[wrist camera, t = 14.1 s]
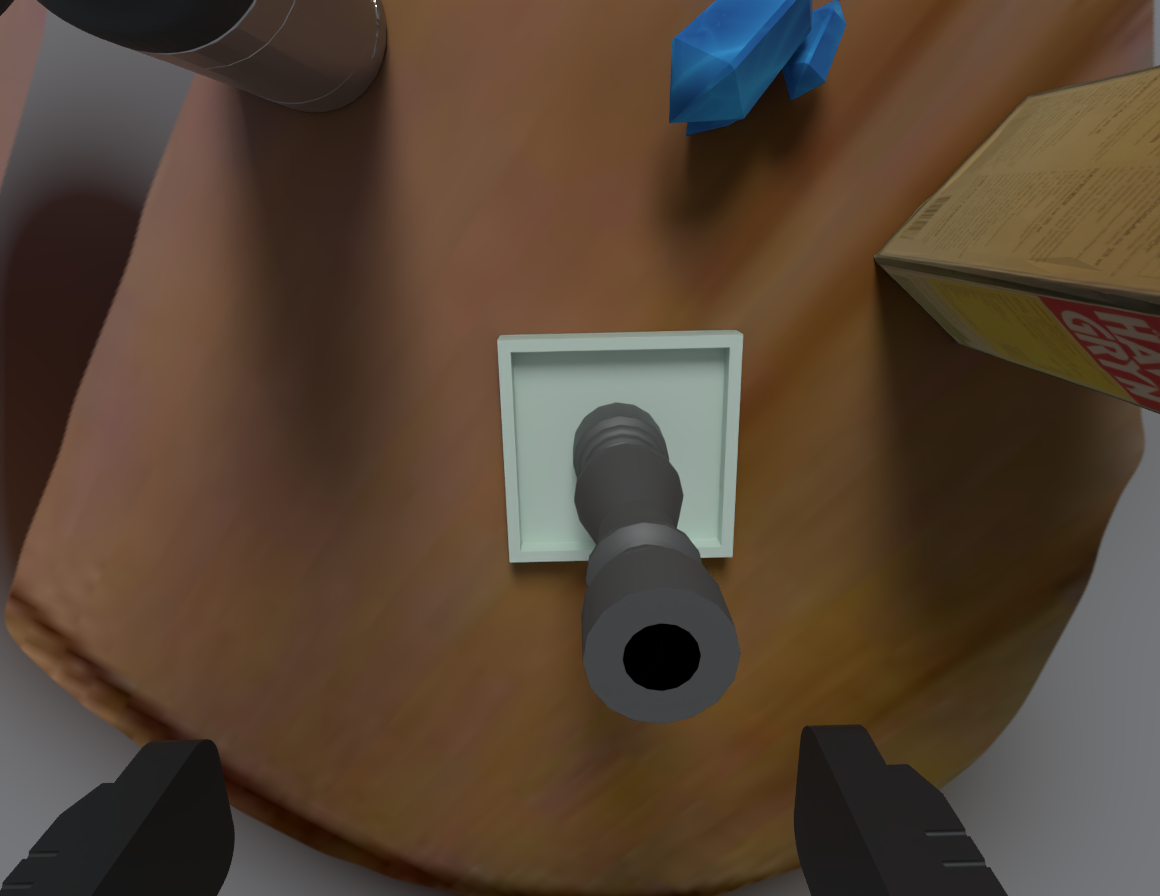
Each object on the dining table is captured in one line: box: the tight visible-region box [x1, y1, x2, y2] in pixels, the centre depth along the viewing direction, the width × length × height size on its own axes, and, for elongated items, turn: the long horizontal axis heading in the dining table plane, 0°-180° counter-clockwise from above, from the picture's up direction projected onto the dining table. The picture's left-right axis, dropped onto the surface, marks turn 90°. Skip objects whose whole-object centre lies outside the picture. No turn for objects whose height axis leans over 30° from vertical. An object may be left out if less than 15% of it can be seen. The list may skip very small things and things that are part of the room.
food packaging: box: [874, 65, 1160, 414], centre depth 35 cm, size 13×9×25 cm
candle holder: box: [573, 402, 741, 724], centre depth 38 cm, size 6×6×25 cm
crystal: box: [669, 0, 846, 136], centre depth 40 cm, size 7×9×12 cm
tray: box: [497, 330, 743, 562], centre depth 50 cm, size 16×16×2 cm
